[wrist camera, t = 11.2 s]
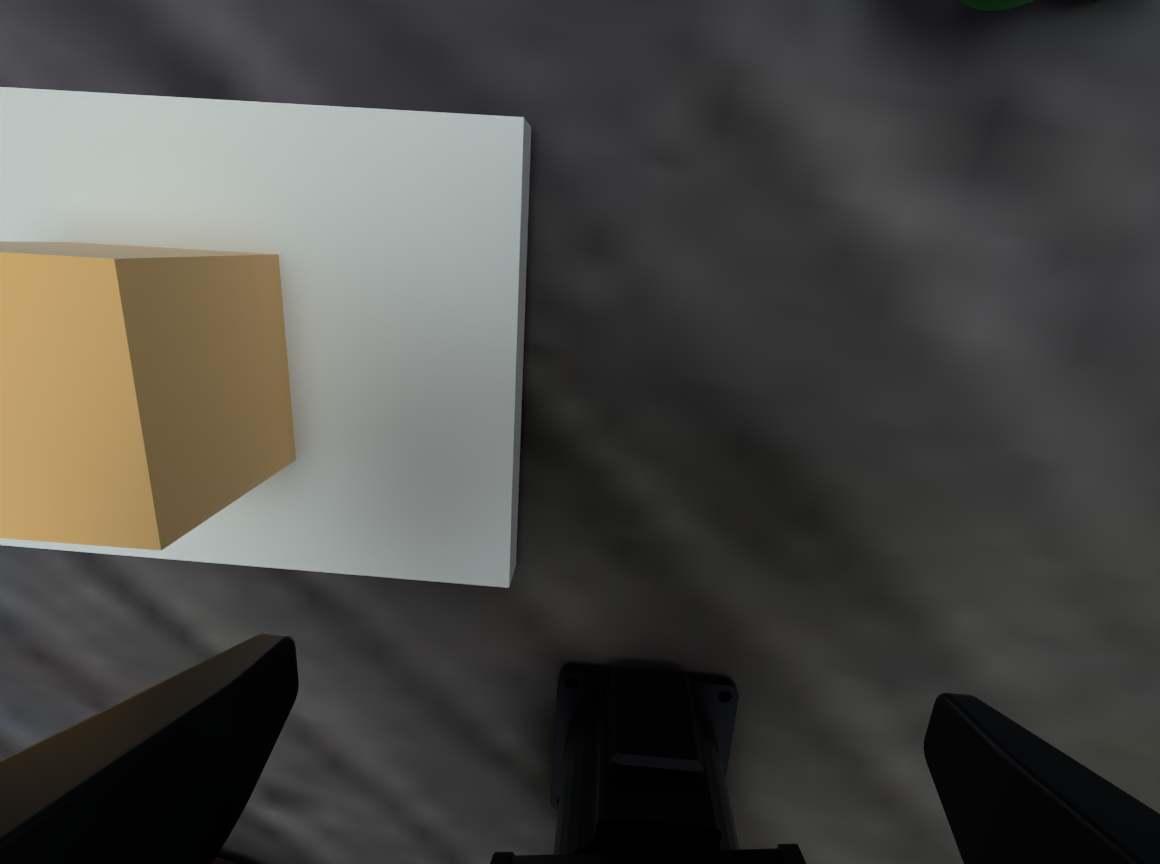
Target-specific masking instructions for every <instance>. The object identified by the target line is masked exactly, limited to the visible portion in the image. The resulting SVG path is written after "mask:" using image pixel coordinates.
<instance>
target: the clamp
mask: <svg viewBox="0 0 1160 864" xmlns="http://www.w3.org/2000/svg"><path fill="white" fill-rule="evenodd" d="M958 1H959V2H961V3H962V4H964V5H966V6H968V7H971V8H974V9H977V10H983V11H1000V10H1006V9H1010V8H1014V7H1017V6H1020V5H1023V4H1026V3H1029V2H1032V1H1035V0H958ZM1086 1H1088V2H1094V1H1097V0H1086Z"/></svg>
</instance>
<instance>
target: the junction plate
mask: <svg viewBox="0 0 1160 864" xmlns="http://www.w3.org/2000/svg"><path fill="white" fill-rule="evenodd" d="M530 153H531V126H530V125H529V124H528V122H527V121H526V119H525V118H524V117H511V116H494V115H477V114H459V113H442V112H425V111H407V110H390V109H373V108H356V107H338V106H321V105H304V104H286V103H269V102H252V101H235V100H217V99H200V98H183V97H165V96H148V95H131V94H114V93H96V92H79V91H62V90H44V89H27V88H10V87H0V241H6V242H78V243H95V244H112V245H129V246H146V247H163V248H180V249H196V250H213V251H230V252H247V253H264V254H279V266H280V278H281V289H282V301H283V313H284V324H285V336H286V348H287V359H288V371H289V383H290V394H291V406H292V418H293V430H294V441H295V453H296V460H295V461H294V462H292V463H291V464H289V465H288V466H286V467H285V468H283V469H282V470H280V471H279V472H277V473H276V474H274V475H273V476H271V477H270V478H268V479H267V480H265V481H264V482H262V483H261V484H259V485H258V486H256V487H255V488H253V489H252V490H250V491H249V492H247V493H246V494H244V495H243V496H242V497H240V498H239V499H237V500H236V501H234V502H233V503H231V504H230V505H228V506H227V507H225V508H224V509H222V510H221V511H219V512H218V513H216V514H215V515H213V516H212V517H210V518H209V519H207V520H206V521H204V522H203V523H201V524H200V525H198V526H197V527H195V528H194V529H192V530H191V531H190V532H188V533H187V534H185V535H184V536H182V537H181V538H179V539H178V540H176V541H175V542H173V543H172V544H170V545H169V546H167V547H166V548H164V549H163V550H148V549H135V548H122V547H109V546H96V545H83V544H70V543H57V542H44V541H31V540H18V539H6V538H0V545H6V546H18V547H30V548H42V549H54V550H66V551H77V552H89V553H101V554H113V555H125V556H137V557H149V558H161V559H173V560H185V561H196V562H208V563H220V564H232V565H244V566H256V567H268V568H280V569H292V570H304V571H315V572H327V573H339V574H351V575H363V576H375V577H387V578H399V579H411V580H422V581H434V582H446V583H458V584H470V585H482V586H494V587H506V588H509V586H510V583H511V580H512V577H513V573H514V570H515V567H516V553H517V524H518V496H519V467H520V438H521V410H522V381H523V353H524V324H525V295H526V267H527V238H528V210H529V181H530Z"/></svg>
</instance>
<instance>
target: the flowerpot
mask: <svg viewBox="0 0 1160 864" xmlns="http://www.w3.org/2000/svg"><path fill="white" fill-rule="evenodd" d="M212 864H237V863H234V862H232V861H229V860H225V859H222V858H218V857H216V858H215V860H214V862H213V863H212Z"/></svg>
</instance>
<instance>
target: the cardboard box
mask: <svg viewBox="0 0 1160 864" xmlns="http://www.w3.org/2000/svg"><path fill="white" fill-rule="evenodd" d="M295 460H296V453H295V441H294V430H293V418H292V406H291V394H290V383H289V371H288V359H287V348H286V336H285V324H284V313H283V301H282V289H281V278H280V266H279V254H264V253H247V252H230V251H213V250H196V249H180V248H163V247H146V246H129V245H112V244H95V243H78V242H6V241H0V538H6V539H18V540H31V541H44V542H57V543H70V544H83V545H96V546H109V547H122V548H135V549H148V550H163V549H164V548H166V547H167V546H169V545H170V544H172V543H173V542H175V541H176V540H178V539H179V538H181V537H182V536H184V535H185V534H187V533H188V532H190V531H191V530H192V529H194V528H195V527H197V526H198V525H200V524H201V523H203V522H204V521H206V520H207V519H209V518H210V517H212V516H213V515H215V514H216V513H218V512H219V511H221V510H222V509H224V508H225V507H227V506H228V505H230V504H231V503H233V502H234V501H236V500H237V499H239V498H240V497H242V496H243V495H244V494H246V493H247V492H249V491H250V490H252V489H253V488H255V487H256V486H258V485H259V484H261V483H262V482H264V481H265V480H267V479H268V478H270V477H271V476H273V475H274V474H276V473H277V472H279V471H280V470H282V469H283V468H285V467H286V466H288V465H289V464H291V463H292V462H294V461H295Z"/></svg>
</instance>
